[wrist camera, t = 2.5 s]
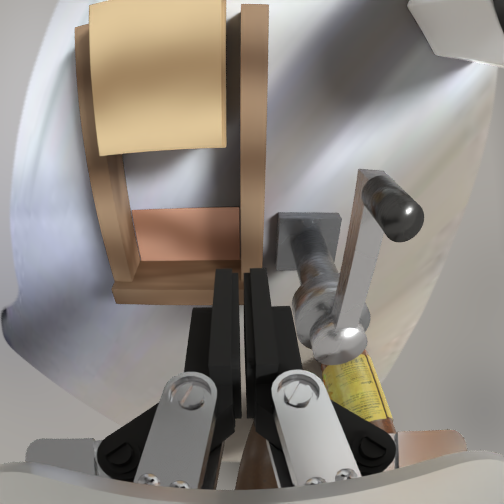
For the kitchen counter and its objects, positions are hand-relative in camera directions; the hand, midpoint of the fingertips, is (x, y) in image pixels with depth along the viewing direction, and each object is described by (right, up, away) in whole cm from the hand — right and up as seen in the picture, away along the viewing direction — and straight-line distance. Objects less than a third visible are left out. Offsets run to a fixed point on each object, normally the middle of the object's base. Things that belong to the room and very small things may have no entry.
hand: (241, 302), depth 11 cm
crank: (+5, +1, +5) cm, 7 cm away
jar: (+16, +21, +5) cm, 27 cm away
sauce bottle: (+12, -11, +26) cm, 30 cm away
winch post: (+5, +3, +16) cm, 17 cm away
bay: (-5, +9, +11) cm, 15 cm away
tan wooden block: (-5, +14, +8) cm, 17 cm away
